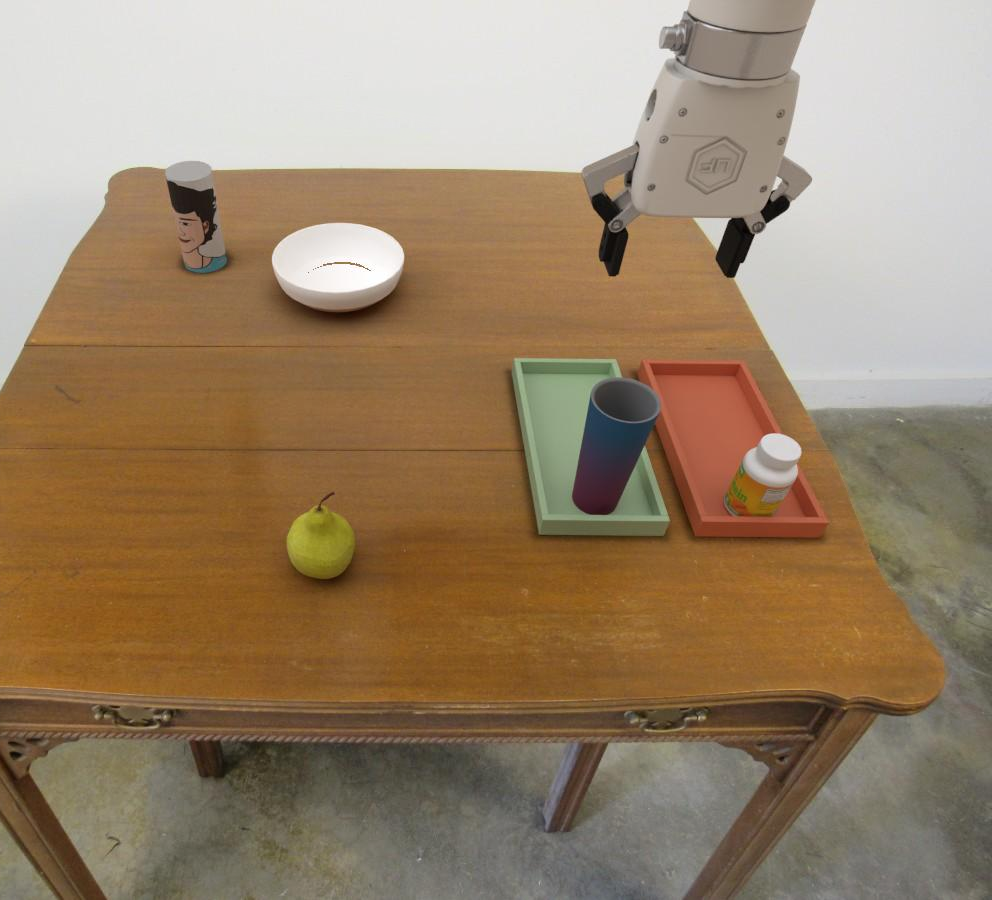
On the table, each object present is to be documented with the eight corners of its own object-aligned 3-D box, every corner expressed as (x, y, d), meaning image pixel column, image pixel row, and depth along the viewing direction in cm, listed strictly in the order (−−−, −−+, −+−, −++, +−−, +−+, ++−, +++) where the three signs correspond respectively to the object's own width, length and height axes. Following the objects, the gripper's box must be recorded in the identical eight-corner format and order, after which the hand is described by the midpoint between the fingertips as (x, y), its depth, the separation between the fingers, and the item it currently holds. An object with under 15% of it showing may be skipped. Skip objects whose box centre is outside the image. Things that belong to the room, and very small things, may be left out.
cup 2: (563, 473, 86) (589, 374, 75) (622, 480, 85) (657, 380, 75) (564, 518, 81) (592, 419, 70) (627, 526, 80) (665, 426, 70)
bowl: (374, 341, 104) (373, 305, 100) (252, 310, 109) (246, 274, 105) (421, 272, 117) (423, 237, 113) (310, 247, 122) (308, 213, 117)
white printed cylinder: (186, 251, 121) (168, 161, 110) (228, 249, 121) (213, 160, 110) (181, 273, 116) (161, 181, 105) (225, 272, 116) (209, 180, 106)
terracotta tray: (819, 537, 80) (829, 522, 79) (694, 536, 80) (702, 521, 78) (737, 375, 100) (744, 360, 98) (637, 374, 100) (641, 359, 98)
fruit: (277, 578, 76) (264, 502, 67) (309, 530, 80) (300, 453, 72) (337, 601, 74) (331, 526, 66) (366, 551, 78) (364, 474, 70)
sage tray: (663, 536, 80) (670, 521, 78) (538, 535, 80) (542, 519, 78) (611, 374, 100) (616, 358, 98) (511, 372, 100) (513, 357, 98)
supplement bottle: (714, 491, 84) (744, 430, 77) (759, 487, 85) (793, 426, 78) (735, 528, 80) (768, 467, 74) (782, 524, 81) (819, 463, 74)
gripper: (620, 64, 47) (571, 292, 59) (889, 67, 47) (785, 295, 60) (598, 27, 53) (557, 244, 65) (840, 31, 53) (754, 246, 65)
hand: (666, 268), depth 62 cm, fingers open, 9 cm apart
